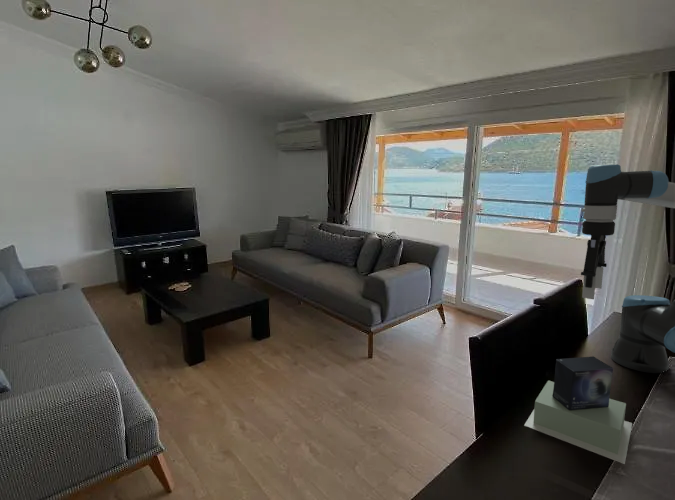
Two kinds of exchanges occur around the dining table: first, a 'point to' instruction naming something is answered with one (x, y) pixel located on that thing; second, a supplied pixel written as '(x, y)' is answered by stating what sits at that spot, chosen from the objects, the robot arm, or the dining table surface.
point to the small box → (582, 383)
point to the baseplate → (617, 457)
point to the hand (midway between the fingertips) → (592, 292)
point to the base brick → (581, 420)
